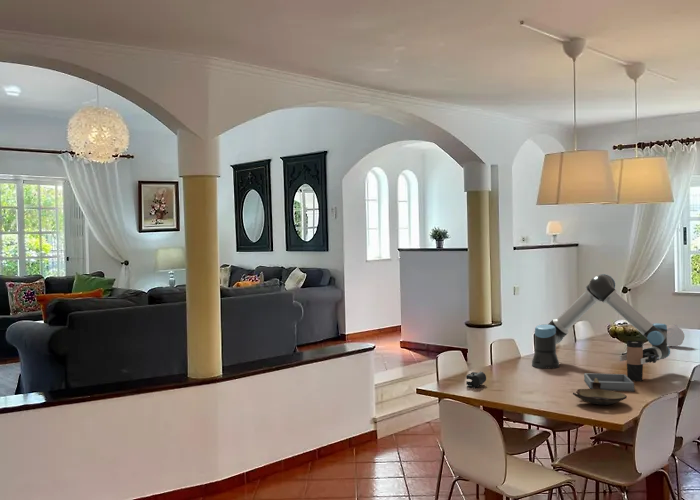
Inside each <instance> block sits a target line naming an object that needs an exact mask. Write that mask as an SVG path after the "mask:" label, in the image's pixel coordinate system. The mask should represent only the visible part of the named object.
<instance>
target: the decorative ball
mask: <svg viewBox="0 0 700 500" xmlns="http://www.w3.org/2000/svg"><path fill="white" fill-rule="evenodd" d="M684 340H685V332H684V330H682V328H680V327H679V326H678V325H677V324H673V323H672V324H669V325H667V346H668V347H670V346H676V347H678V346H681V345H682V344H683V343H684Z"/></svg>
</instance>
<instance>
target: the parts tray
mask: <svg viewBox="0 0 700 500" xmlns="http://www.w3.org/2000/svg"><path fill="white" fill-rule="evenodd" d="M595 378H597V379H598V381H599V383H601V386H600V388H601V389H602V390H609V391H614V392H617V391H618V392H635V382H634V381H631V380H630V379H629V378H628V377H627V374H626V373H625V374H622V373H620V374H619V373H595V372H594V373H590V372H589V373H587V372H584V374H583V379H584V380H583V381H584V383H585V384H586V386H587V387H588V389H593V386H592V383H593V382H594V379H595Z"/></svg>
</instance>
